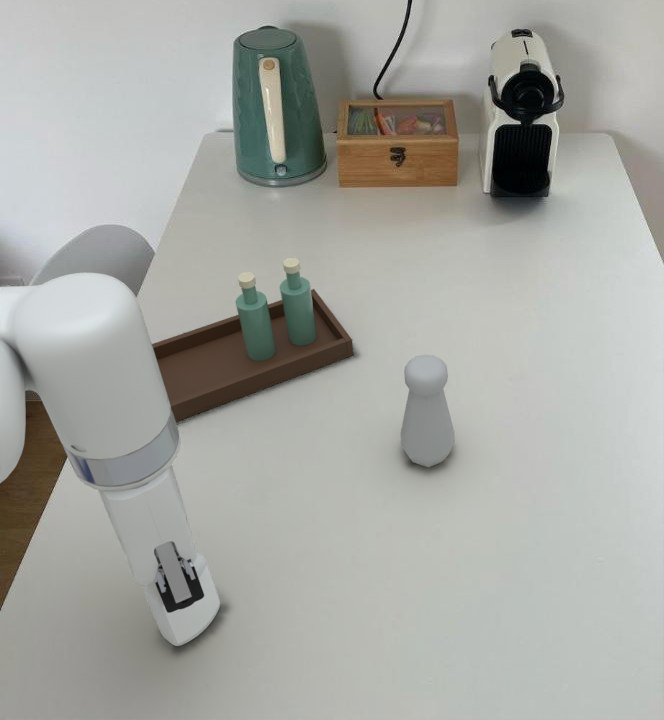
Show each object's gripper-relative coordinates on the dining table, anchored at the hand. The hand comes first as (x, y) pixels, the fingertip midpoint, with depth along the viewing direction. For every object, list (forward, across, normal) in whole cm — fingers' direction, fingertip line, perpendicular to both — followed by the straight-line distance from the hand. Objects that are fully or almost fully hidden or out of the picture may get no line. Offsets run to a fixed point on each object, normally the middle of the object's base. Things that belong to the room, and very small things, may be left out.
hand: (176, 579), depth 69 cm
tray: (+7, -31, +16) cm, 36 cm away
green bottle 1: (+6, -31, +18) cm, 36 cm away
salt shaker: (+7, -7, +28) cm, 30 cm away
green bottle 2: (+6, -31, +24) cm, 40 cm away
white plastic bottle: (+7, 0, 0) cm, 7 cm away
